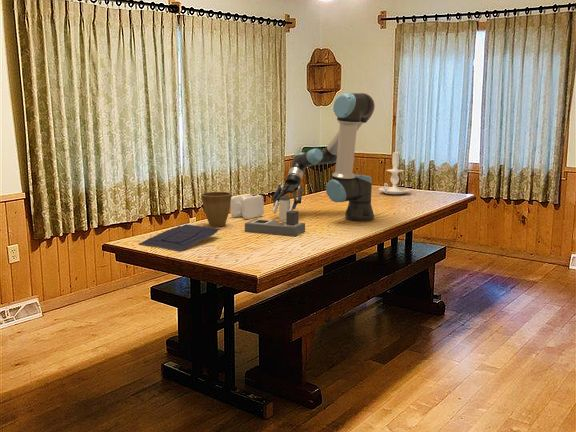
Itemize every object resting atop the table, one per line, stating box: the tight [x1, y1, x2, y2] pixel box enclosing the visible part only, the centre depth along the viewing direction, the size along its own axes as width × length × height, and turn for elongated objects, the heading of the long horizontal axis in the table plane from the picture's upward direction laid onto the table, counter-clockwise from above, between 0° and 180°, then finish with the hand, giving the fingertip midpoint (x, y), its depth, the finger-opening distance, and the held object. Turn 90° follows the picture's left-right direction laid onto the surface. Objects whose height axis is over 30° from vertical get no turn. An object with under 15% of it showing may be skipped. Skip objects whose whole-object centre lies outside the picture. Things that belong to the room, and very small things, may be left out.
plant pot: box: [200, 191, 233, 228], centre depth 303 cm, size 15×15×16 cm
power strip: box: [244, 210, 306, 237], centre depth 291 cm, size 26×12×10 cm, turn 67°
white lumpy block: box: [230, 193, 265, 220], centre depth 325 cm, size 15×11×12 cm
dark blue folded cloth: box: [139, 223, 221, 252], centre depth 272 cm, size 24×30×4 cm
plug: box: [278, 195, 291, 221], centre depth 318 cm, size 4×5×12 cm
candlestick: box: [378, 151, 411, 195], centre depth 398 cm, size 21×25×28 cm
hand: (282, 212), depth 316 cm, fingers open, 8 cm apart
